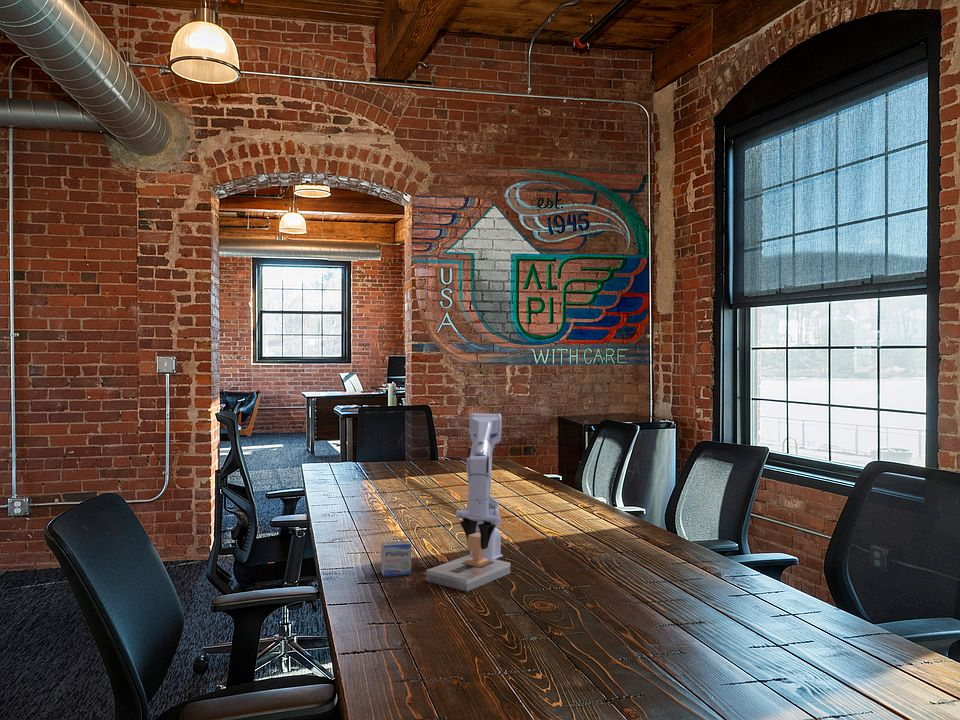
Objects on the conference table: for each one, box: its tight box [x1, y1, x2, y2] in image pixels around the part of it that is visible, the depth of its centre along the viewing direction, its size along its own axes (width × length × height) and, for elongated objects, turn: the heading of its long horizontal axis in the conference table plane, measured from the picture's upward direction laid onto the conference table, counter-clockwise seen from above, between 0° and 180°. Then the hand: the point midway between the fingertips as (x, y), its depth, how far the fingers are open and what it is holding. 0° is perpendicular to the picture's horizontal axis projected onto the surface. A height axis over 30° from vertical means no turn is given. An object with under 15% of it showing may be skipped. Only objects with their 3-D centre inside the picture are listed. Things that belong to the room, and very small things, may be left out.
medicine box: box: [380, 540, 412, 577], centre depth 210 cm, size 8×4×9 cm, turn 105°
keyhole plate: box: [425, 554, 511, 592], centre depth 207 cm, size 20×14×3 cm
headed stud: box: [465, 533, 490, 567], centre depth 210 cm, size 5×5×8 cm
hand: (477, 546), depth 210 cm, fingers closed on headed stud, 4 cm apart
